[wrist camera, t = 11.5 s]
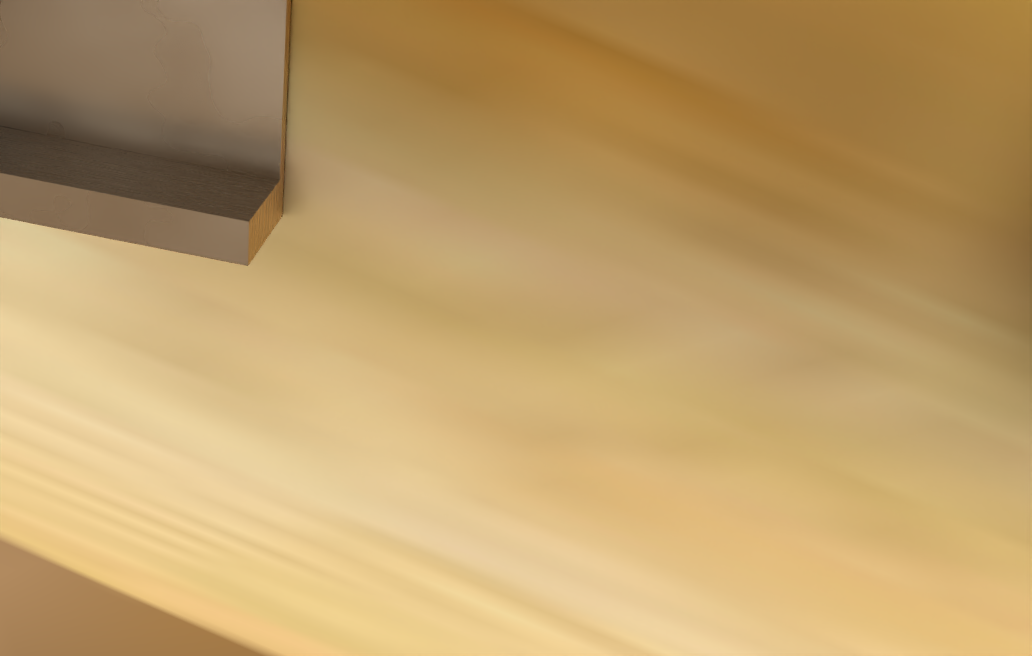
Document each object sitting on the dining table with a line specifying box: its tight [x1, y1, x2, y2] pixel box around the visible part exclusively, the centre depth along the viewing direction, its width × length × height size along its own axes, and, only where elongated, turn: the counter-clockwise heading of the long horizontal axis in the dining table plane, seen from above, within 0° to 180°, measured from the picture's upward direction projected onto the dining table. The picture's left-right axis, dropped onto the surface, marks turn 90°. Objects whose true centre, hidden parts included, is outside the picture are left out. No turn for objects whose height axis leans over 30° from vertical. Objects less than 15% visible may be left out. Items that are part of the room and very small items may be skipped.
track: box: [0, 0, 291, 266], centre depth 19 cm, size 8×7×2 cm
